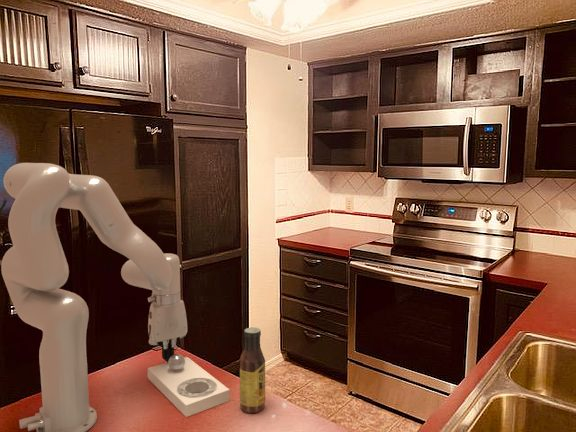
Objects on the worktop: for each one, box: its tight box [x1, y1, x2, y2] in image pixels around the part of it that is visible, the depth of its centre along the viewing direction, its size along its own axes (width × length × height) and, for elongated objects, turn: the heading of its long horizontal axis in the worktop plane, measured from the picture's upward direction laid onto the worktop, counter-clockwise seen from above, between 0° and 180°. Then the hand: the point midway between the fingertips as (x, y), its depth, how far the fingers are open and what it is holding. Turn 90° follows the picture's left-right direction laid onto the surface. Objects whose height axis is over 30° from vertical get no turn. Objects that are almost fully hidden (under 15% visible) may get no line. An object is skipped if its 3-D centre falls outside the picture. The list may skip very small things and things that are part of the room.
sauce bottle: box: [239, 327, 266, 414], centre depth 112 cm, size 6×6×20 cm
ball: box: [168, 353, 185, 371], centre depth 125 cm, size 4×4×4 cm
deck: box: [146, 356, 231, 418], centre depth 121 cm, size 12×24×3 cm, turn 38°
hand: (168, 360), depth 130 cm, fingers closed
